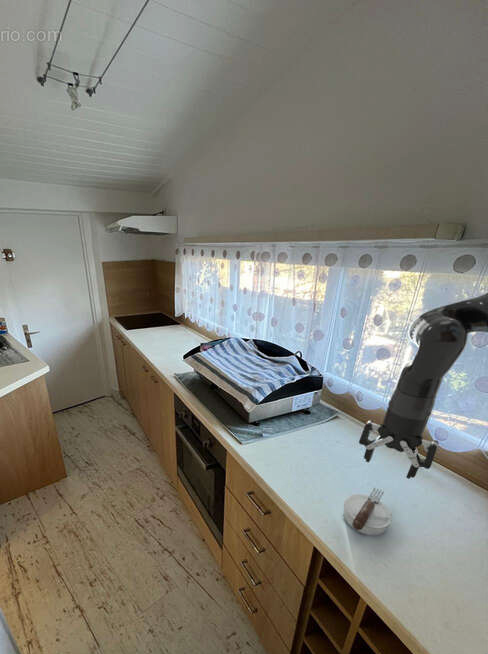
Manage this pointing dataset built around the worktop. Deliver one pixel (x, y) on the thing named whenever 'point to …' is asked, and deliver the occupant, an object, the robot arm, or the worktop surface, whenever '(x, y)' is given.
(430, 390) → the robot arm
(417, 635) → the worktop surface
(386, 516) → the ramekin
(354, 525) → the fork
